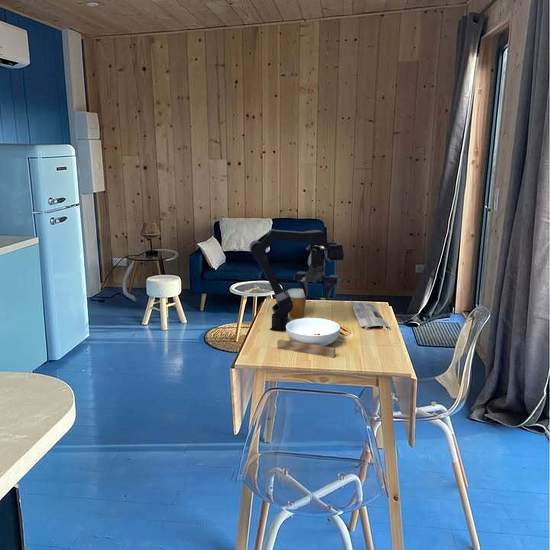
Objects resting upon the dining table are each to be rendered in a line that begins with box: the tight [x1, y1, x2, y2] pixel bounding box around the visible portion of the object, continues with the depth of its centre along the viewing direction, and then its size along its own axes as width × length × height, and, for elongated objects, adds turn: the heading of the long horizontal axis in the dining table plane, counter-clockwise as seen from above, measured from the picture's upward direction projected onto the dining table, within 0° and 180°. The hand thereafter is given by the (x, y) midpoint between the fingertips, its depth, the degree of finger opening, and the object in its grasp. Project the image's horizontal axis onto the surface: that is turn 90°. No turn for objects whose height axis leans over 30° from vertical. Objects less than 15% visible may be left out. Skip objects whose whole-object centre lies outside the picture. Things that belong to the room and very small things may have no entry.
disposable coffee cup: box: [287, 288, 309, 320], centre depth 233 cm, size 10×10×12 cm
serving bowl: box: [285, 317, 341, 347], centre depth 201 cm, size 21×21×7 cm
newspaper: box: [350, 300, 392, 331], centre depth 234 cm, size 35×12×4 cm, turn 2°
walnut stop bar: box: [277, 339, 336, 359], centre depth 192 cm, size 22×2×3 cm, turn 66°
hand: (316, 298), depth 217 cm, fingers open, 9 cm apart
